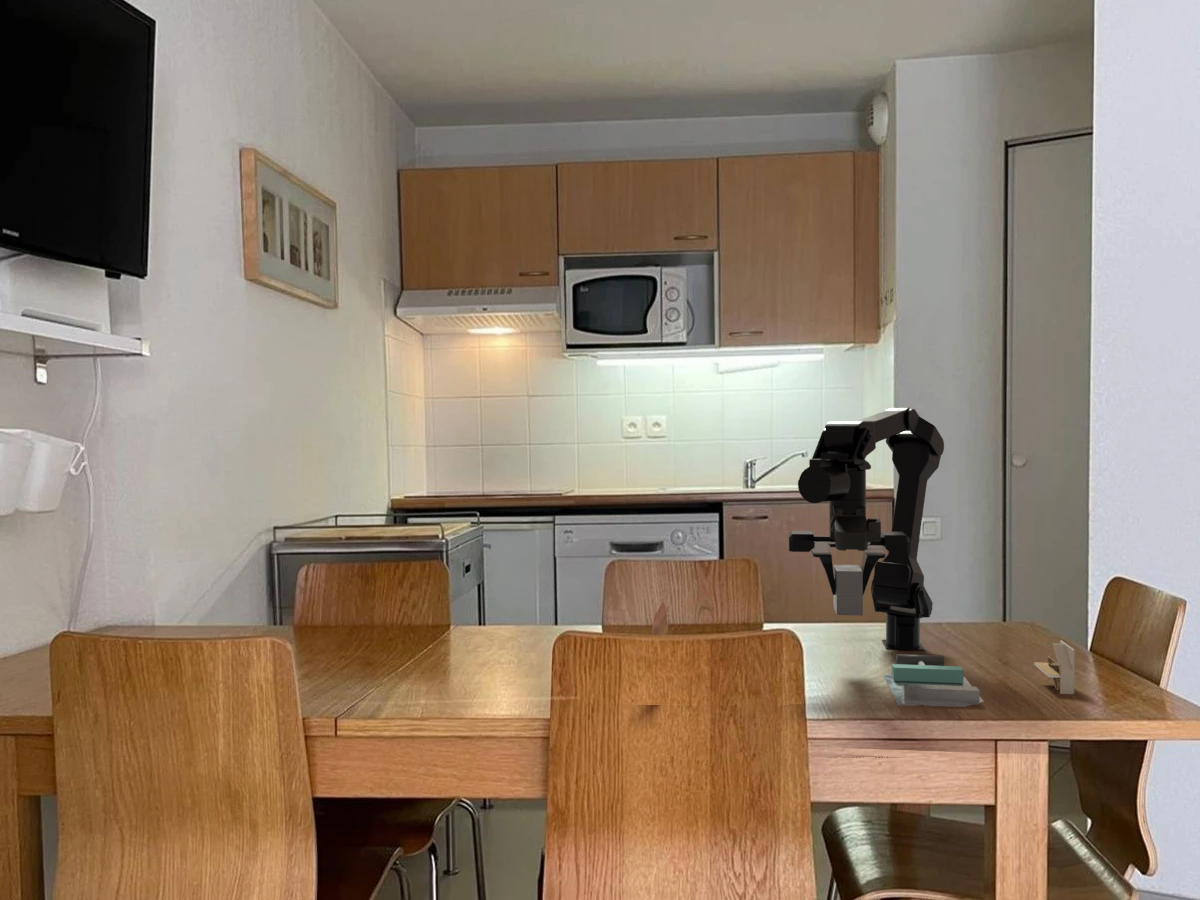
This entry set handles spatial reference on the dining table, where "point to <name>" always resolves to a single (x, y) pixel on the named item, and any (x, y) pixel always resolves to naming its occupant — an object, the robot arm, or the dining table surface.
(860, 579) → the steel block
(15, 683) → the dining table surface
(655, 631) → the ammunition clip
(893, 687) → the vise base
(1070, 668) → the architectural model
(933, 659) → the free jaw
